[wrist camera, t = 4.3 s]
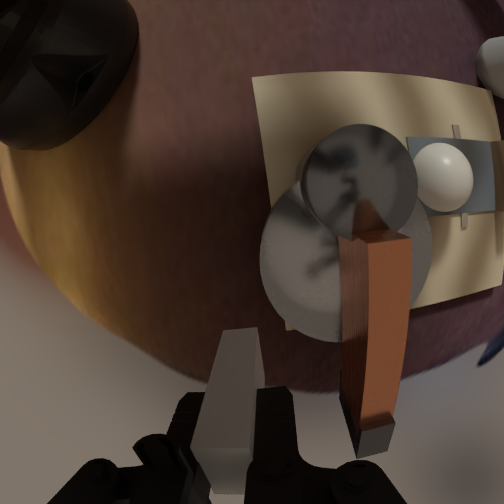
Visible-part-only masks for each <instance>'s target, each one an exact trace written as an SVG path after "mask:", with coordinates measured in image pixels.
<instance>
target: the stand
mask: <svg viewBox="0 0 504 504" xmlns="http://www.w3.org/2000/svg"><path fill="white" fill-rule="evenodd" d="M252 83H253V90H254V96H255V102H256V108H257V114H258V121H259V127H260V134H261V140H262V147H263V154H264V161H265V168H266V175H267V182H268V189H269V196H270V203H271V208H272V206H273V205H274V203H275V202H276V200H277V199H278V197H279V196H280V195H281V194H282V193H283V192H284V191H285V190H286V189H287V188H288V187H289V186H290V185H291V184H292V183H294V182H295V176H296V170H297V167H298V164H299V162H300V160H301V159H302V157H303V156H304V154H305V153H306V152H307V151H308V150H309V149H311V148H312V147H313V146H314V145H316V144H317V143H318V142H320V141H321V140H322V139H324V138H325V137H327V136H328V135H329V134H331V133H332V132H334V131H335V130H337V129H339V128H342V127H344V126H347V125H351V124H369V125H374V126H377V127H380V128H382V129H384V130H386V131H388V132H389V133H391V134H392V135H394V136H395V137H396V138H397V139H398V140H399V141H400V142H401V143H402V144H403V145H404V146H405V148H406V149H407V151H408V152H409V154H410V156H411V158H412V160H414V158H415V156H416V155H417V154H418V152H419V151H420V150H421V149H422V148H424V147H425V146H427V145H430V144H433V143H446V144H449V145H451V146H454V147H455V148H457V149H458V150H460V151H461V152H462V153H463V154H464V156H465V157H466V158H467V160H468V162H469V163H470V166H471V169H472V173H473V188H472V192H471V195H470V197H469V198H468V200H467V201H466V202H465V203H464V204H463V205H462V206H461V207H460V208H458V209H456V210H453V211H449V212H441V211H437V210H434V209H431V208H429V207H428V206H426V205H425V204H424V203H423V202H422V201H421V200H420V199H419V198H418V196H417V198H418V199H419V201H420V202H421V204H422V206H423V208H424V210H425V212H426V215H427V217H428V221H429V224H430V228H431V234H432V260H431V265H430V270H429V273H428V277H427V280H426V282H425V284H424V287H423V289H422V291H421V293H420V294H419V296H418V298H417V300H416V301H415V302H414V304H413V305H412V306H411V308H410V309H414V308H418V307H422V306H426V305H431V304H435V303H439V302H443V301H446V300H450V299H454V298H458V297H461V296H465V295H469V294H472V293H476V292H479V291H482V290H486V289H489V288H492V287H495V286H498V285H502V277H503V269H504V140H502V141H501V136H500V130H499V125H498V119H497V114H496V110H495V105H494V101H493V97H492V93H491V91H490V90H487V89H483V88H479V87H475V86H470V85H466V84H461V83H456V82H451V81H446V80H440V79H434V78H427V77H420V76H412V75H402V74H391V73H376V72H306V73H290V74H279V75H269V76H260V77H253V78H252ZM285 326H286V331H288V330H296V329H294V328H293V327H292V326H291V325H289V324H288V323H287V322H286V321H285Z"/></svg>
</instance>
